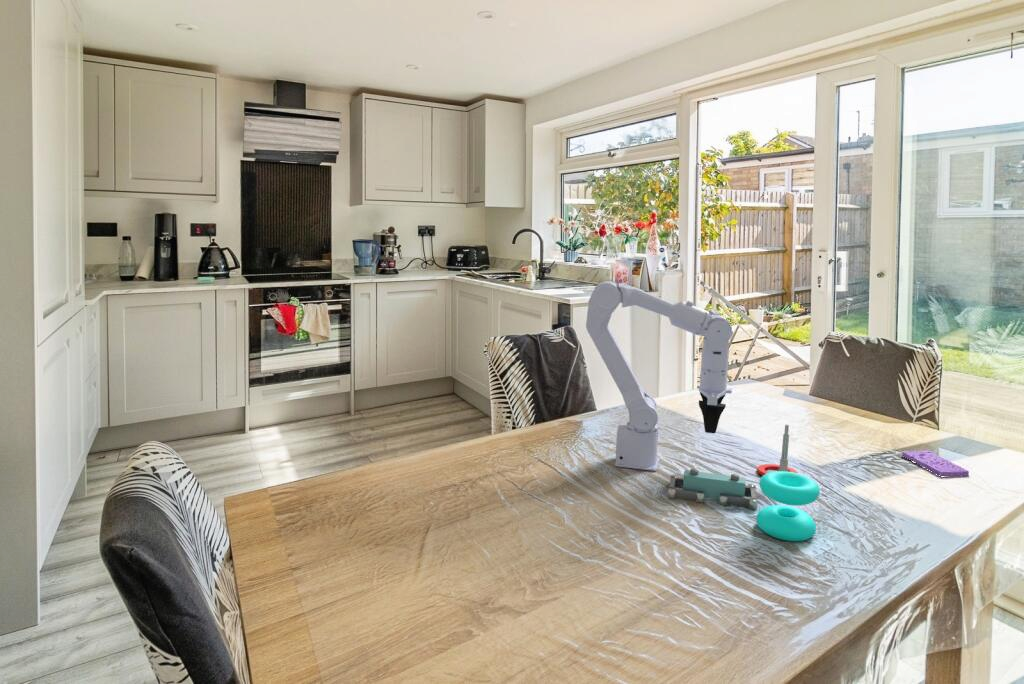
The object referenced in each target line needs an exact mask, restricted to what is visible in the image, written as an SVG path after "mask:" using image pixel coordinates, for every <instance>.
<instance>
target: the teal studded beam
mask: <svg viewBox="0 0 1024 684" xmlns="http://www.w3.org/2000/svg"><path fill="white" fill-rule="evenodd" d="M682 478H683V487H682V488H684V489H692V490H699V491H704V493H705V499H711V500H716V501H719V495H720V493H723V494H731V495H738V496H746V495H745V485H746V477H742V476H740V475H739V474H737V473H731V475H727V474H718V473H713V472H703V471H699V469H697V468H691V469H690V470H688V469H685V470H684V472H683V476H682Z"/></svg>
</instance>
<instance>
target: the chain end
mask: <svg viewBox="0 0 1024 684" xmlns="http://www.w3.org/2000/svg"><path fill="white" fill-rule="evenodd" d="M667 499H669V500H676V499H682V500H690V501H695V502H696V503H698V504H704V503H705V499H706V498H705V493H704V491H699V490H692V489H684V488H683V477H679V475H677V474H671V475H670V479H669V486H668V489H667Z"/></svg>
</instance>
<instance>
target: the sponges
mask: <svg viewBox="0 0 1024 684" xmlns="http://www.w3.org/2000/svg"><path fill="white" fill-rule="evenodd" d="M901 454H902V455H901V457H902V456H904V457H906V458H908V459H910V460H912V461H914V462H916V463H917V464H919V465H921V466H923V467H925V468H926V469H928V470H930V471H932V472H933V473H935V474H937V475H940V476H955V477H969V476H970V474H969V473H970V472H969V471H970V470H969V469H966V468H964V467H961V466H960V465H958V464H956V463H955V464H954V463H953V462H952V461H950V460H948V459H945V458H944V457H943V456H941V455H938V454H936V453H935V452H933V451H931V450H930V449H929V450H927V449H926V450H918V451H917V450H909V451H908V450H907V451H906V450H905V451H903V450H902V451H901ZM904 457H903V458H904ZM906 458H905V459H906ZM908 459H907V460H908ZM917 464H916V465H917ZM919 465H918V466H919ZM926 469H925V470H926ZM928 470H927V471H928ZM930 471H929V472H930ZM933 473H932V474H933ZM935 474H934V475H935ZM937 475H936V476H937ZM961 475H962V476H961ZM940 476H939V477H940Z"/></svg>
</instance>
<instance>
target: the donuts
mask: <svg viewBox="0 0 1024 684" xmlns="http://www.w3.org/2000/svg"><path fill="white" fill-rule="evenodd" d="M768 472H769V473H767V474H765V475H763V476H762V475H761V478H760V480H759V482H758V483H759V489H760V490H761V492H762V493H763V494H764V496H765V497H768V498H769V499H770V500H772V501H775V502H777V503H780V504H771V505H768V506H765V507H763V508H761V509H760V510H759V511H758V512H757V515H756V523H757V526H758V527H759V528H760V529H761V530H762V532H764V533H765V534H767V535H769V536H771V537H773V538H776V539H779V540H783V541H789V542H802V541H806V540H809V539H811V538H812V537H813V536H814V535H815V533H816V532H817V531H816V530H817V526H816V522H815V520H814V519H813V517H811V516H810V514H808V513H806V512H805V511H803V510H801V509H799V508H797V507H794V506H806V505H809V504H811V503H815V501H816V500H818V498H819V497H820V487H819V484H817V482H815V480H813V479H812V478H810V477H808V476H806V475H803V474H801V473H798V474H797V473H793V472H786V471H777V470H776V471H768ZM783 504H784V505H783Z"/></svg>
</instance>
